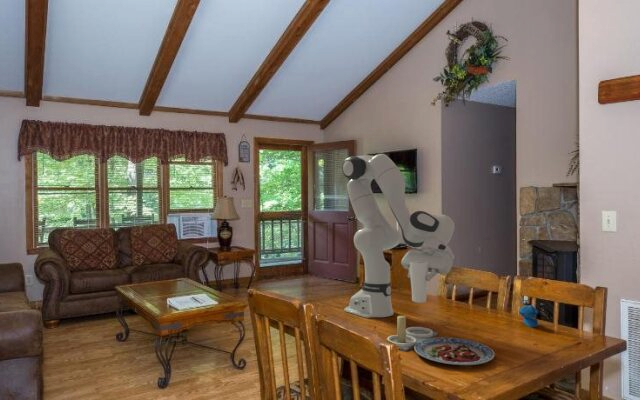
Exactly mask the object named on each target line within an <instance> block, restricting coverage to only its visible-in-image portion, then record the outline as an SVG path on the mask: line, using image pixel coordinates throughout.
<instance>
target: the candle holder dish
mask: <svg viewBox="0 0 640 400" xmlns="http://www.w3.org/2000/svg"><path fill="white" fill-rule="evenodd" d="M396 319H397V320H396V322H397V323H396V324H397V325H396V328H397V329H396V331H397V332H396V333H397V334H395V335H389V336H387V339H386V341H387V340H388V341H390V342H392V343H394V344H396V345H397V346H398V347H399V349H400V350H399V349H398V350H399V351H403V352H407V351H409V350H411V349H413V348H414V346H415V344H416V343H418V342H419V341H422V340H425V339H430V338H435V337H436V336H438V335H439V333H438V331H437V332H436V331H433V330H432V329H430V328H427V327H423V326H410V327H407V318H406V316H405V315H398V316H397V318H396Z"/></svg>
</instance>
